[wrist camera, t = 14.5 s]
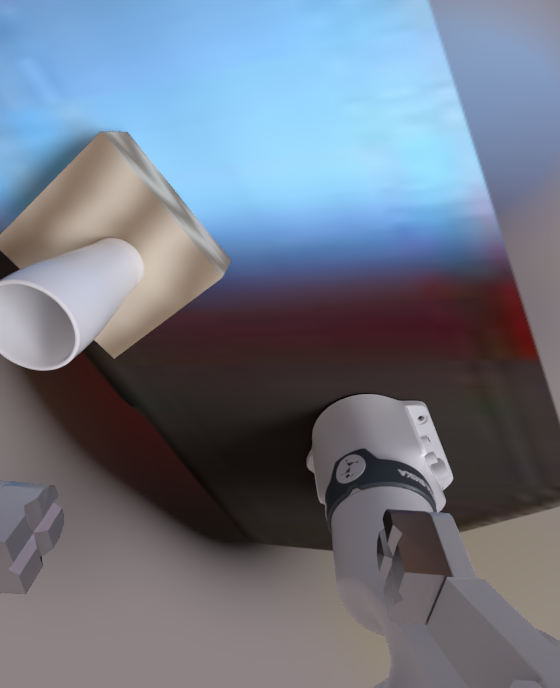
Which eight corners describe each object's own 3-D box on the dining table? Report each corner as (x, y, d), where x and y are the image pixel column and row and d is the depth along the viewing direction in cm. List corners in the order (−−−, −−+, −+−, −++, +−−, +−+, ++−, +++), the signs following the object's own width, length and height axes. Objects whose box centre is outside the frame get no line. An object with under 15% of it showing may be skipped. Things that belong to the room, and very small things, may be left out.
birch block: (231, 260, 45) (222, 277, 40) (133, 334, 50) (114, 358, 45) (127, 132, 39) (100, 131, 34) (29, 229, 44) (-8, 242, 39)
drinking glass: (97, 298, 41) (1, 375, 28) (75, 232, 38) (-45, 283, 25) (160, 292, 41) (93, 369, 27) (143, 225, 38) (58, 274, 24)
